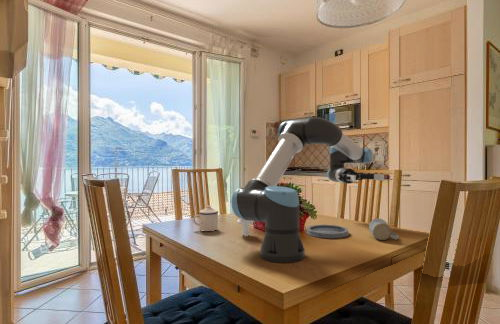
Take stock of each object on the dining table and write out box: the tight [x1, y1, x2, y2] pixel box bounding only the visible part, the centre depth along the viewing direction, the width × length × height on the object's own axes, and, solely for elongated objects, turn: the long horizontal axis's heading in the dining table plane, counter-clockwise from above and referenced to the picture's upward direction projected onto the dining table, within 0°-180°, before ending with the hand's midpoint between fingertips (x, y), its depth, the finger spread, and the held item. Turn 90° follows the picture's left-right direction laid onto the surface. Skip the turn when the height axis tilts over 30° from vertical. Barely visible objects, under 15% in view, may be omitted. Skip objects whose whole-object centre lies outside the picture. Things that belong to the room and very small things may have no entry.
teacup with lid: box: [192, 205, 219, 231], centre depth 142 cm, size 12×9×12 cm
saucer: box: [306, 224, 350, 240], centre depth 133 cm, size 18×18×2 cm
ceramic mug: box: [368, 217, 400, 241], centre depth 122 cm, size 11×8×8 cm
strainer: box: [236, 217, 254, 237], centre depth 131 cm, size 7×7×15 cm
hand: (369, 178), depth 131 cm, fingers open, 13 cm apart
